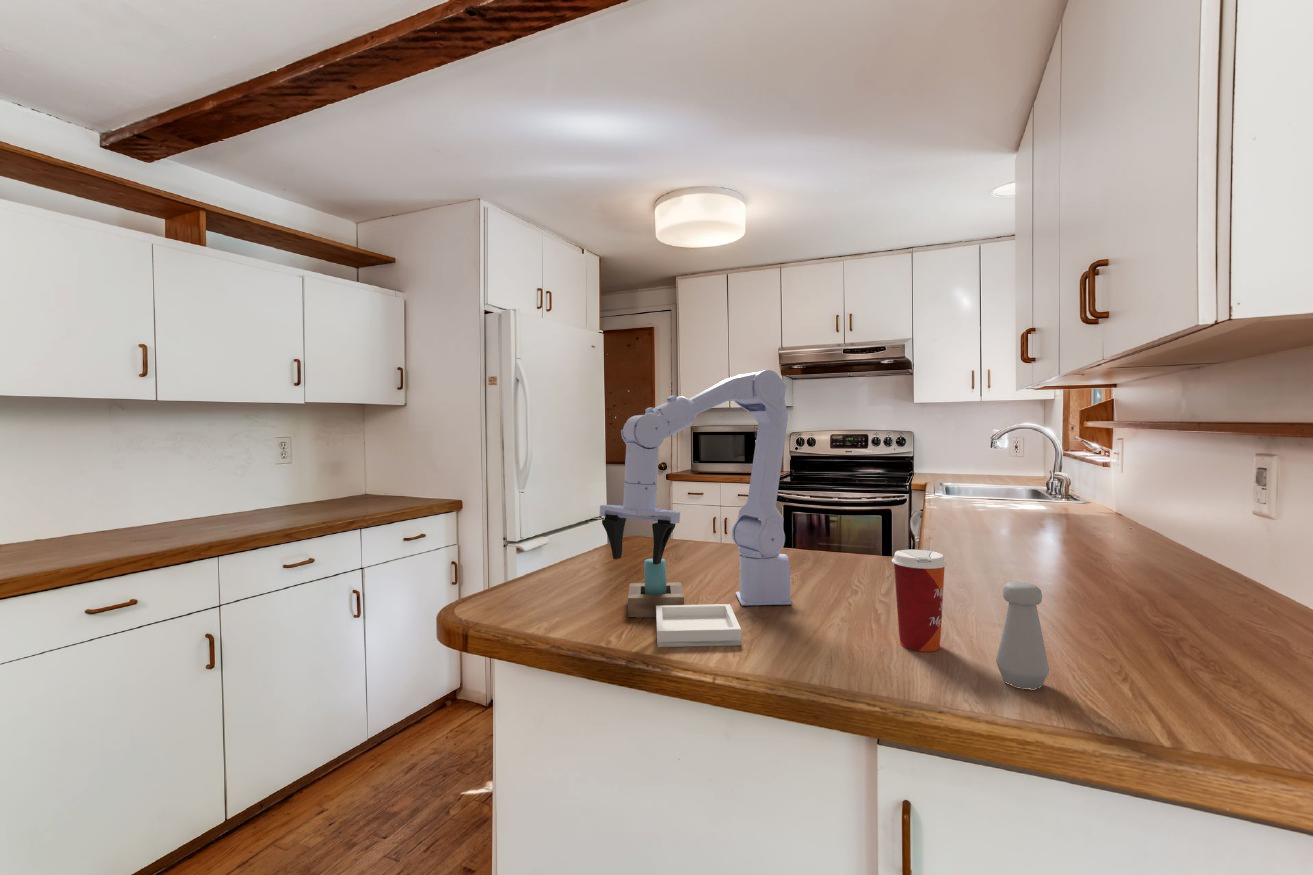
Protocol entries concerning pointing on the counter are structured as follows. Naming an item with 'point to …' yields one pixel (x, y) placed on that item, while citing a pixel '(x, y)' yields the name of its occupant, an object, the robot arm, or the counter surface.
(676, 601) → the socket block
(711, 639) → the tray
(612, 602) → the counter surface
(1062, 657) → the counter surface
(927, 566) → the paper cup
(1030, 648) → the salt shaker
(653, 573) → the dowel
